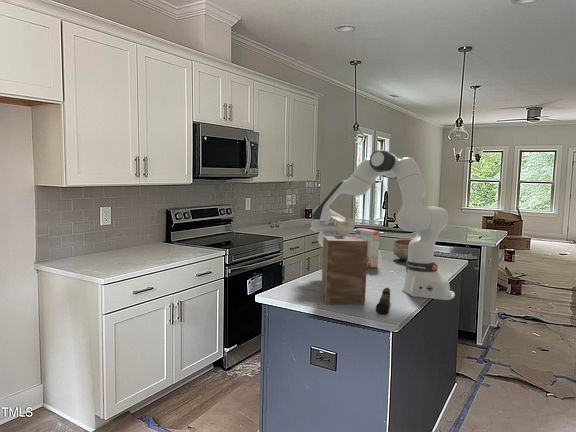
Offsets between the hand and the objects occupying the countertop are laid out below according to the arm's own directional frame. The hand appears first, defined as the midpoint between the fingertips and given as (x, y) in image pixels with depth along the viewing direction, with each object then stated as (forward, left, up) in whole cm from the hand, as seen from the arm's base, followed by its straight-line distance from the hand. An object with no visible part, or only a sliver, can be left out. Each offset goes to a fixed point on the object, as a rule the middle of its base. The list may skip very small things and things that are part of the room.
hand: (335, 219), depth 204 cm
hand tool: (-29, +16, -32) cm, 46 cm away
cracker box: (+4, -54, -32) cm, 63 cm away
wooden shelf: (-13, +18, -32) cm, 38 cm away
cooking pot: (-12, -84, -32) cm, 91 cm away
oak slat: (-3, +5, -1) cm, 6 cm away
